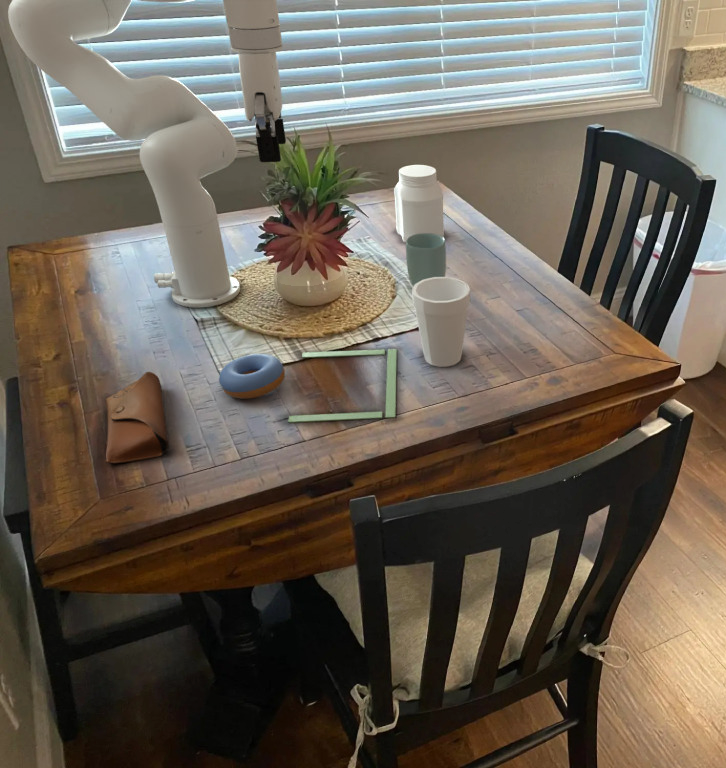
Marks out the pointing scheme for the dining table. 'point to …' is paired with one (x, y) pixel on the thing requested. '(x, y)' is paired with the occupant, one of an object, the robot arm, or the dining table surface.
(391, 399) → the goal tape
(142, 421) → the sunglasses case
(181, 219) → the robot arm
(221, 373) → the doughnut
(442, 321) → the foam cup
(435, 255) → the cup
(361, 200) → the dining table surface
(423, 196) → the jar
